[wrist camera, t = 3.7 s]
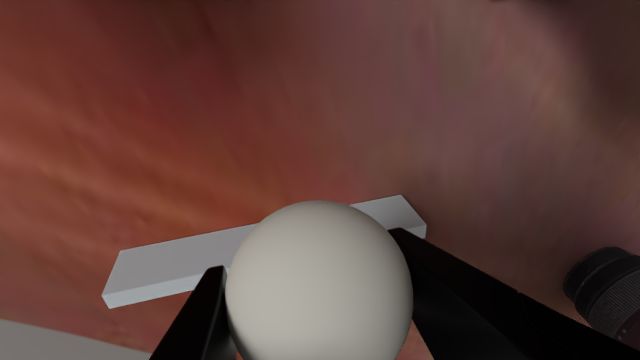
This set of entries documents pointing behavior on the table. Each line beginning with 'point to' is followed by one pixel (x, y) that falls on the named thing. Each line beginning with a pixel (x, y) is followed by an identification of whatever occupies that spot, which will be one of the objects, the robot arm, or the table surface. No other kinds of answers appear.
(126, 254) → the wall
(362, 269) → the ball
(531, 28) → the table surface
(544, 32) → the table surface
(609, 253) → the camera lens
